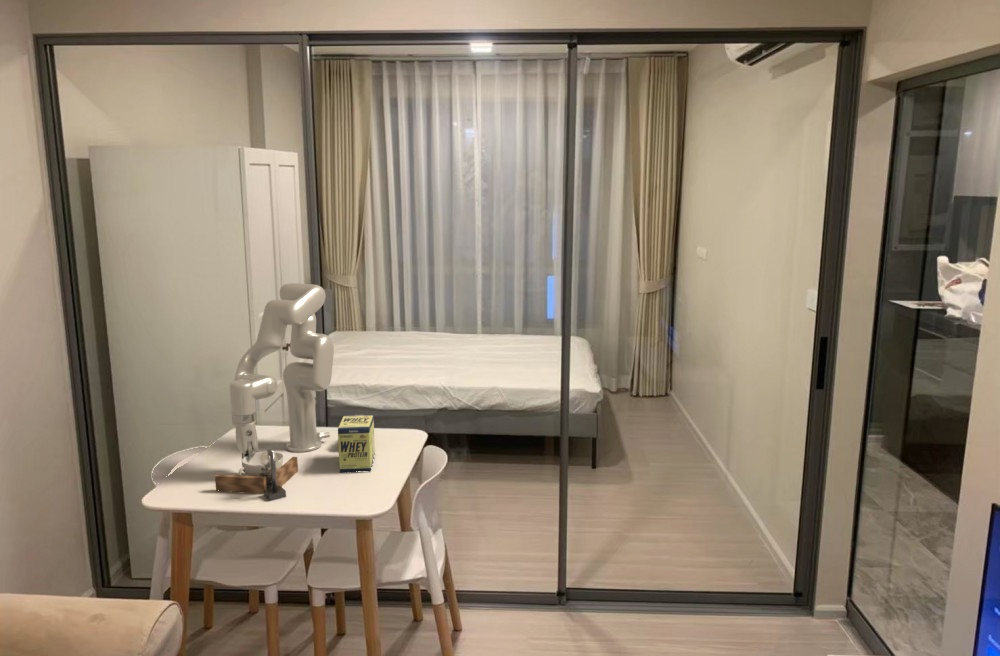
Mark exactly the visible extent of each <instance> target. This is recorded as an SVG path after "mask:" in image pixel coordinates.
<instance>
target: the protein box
mask: <svg viewBox="0 0 1000 656" xmlns="http://www.w3.org/2000/svg"><path fill="white" fill-rule="evenodd" d="M374 419H375V418H374V414H372V413H371V414H344V415H343V417H342V419H341V421H340V423H339V425H338V427H337V440H338V441H337V442H338V461H339V462H338V463H339V473H340V474H346V473H347V472H351V473H359V472H358V471H371V472H372V469H371V467H373V465H372V464H374V462H373V459H374V460H375V458H374V455H375V456H376V451H375V450H376V449H375V448H376V447H375V423H374V422H375V420H374ZM356 471H357V472H356ZM345 472H346V473H345Z"/></svg>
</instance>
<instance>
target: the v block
mask: <svg viewBox="0 0 1000 656" xmlns="http://www.w3.org/2000/svg"><path fill="white" fill-rule="evenodd" d="M298 471H299V463H298V456H292V457H291V458H289V459H288V460H287V461H286V462H285V463H284V464H282V466H281V468H279V469H278V470H277V471H276V481H277V486H281V487H282V488H283V486H284V485H285V484H286V483H287V482H288V481H289V480H291V479H292V477H294V476H295V475H296V474H297V473H298ZM271 479H272V478H271ZM214 482H215V492H220V491H232V492H231V493H238V492H243V493H244V494H256V495H257V494H259V495H260V494H261V495H264V489H268V488H267V484H266V477H262V476H247V475H242V474H241V475H239V474H222V473H221V474H218V473H217V474H216V475H214ZM218 490H219V491H218Z"/></svg>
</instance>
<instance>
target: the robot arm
mask: <svg viewBox="0 0 1000 656" xmlns="http://www.w3.org/2000/svg"><path fill="white" fill-rule="evenodd" d="M279 298H280V299H272V300H269V301H268V302H267V303H266V304H265V306H264V309H263V310H264V311H263V314H262V317H261V321H260V325H259V329H258V332H257V333H258V334H257V337H256V341H255V342H254V344H253V345H251V347H250V348H248V350H247V351H246V352H245V353H244V355H243V356H242V357H241V359H240V360H239V362H238V364H237V368H236V372H235V377H234V380H233V381H232V382H230V384H229V398H230V410H231V423H232V425H234V426H235V441H236V442H235V443H236V446H237V449H238V450H239V451H240V453H241V460H243V458H244V457H246V456H248V458H253V454H254V452H255V453H258V452H259V451H260V450H259V442H258V435H257V434H258V433H257V429H256V428H257V427H256V424H255V423H257V408H256V407H257V405H256V400H262V399H267V398H269V397H272V396H273V395H274V394H275V393H276V392H277V389H278V382H277V380H276V379H275V378H274V377H272V376H270V375H266V374H260V373H259V374H258V373H254V371H255V369H256V366H257V365H258V363H259V362H260V361H261V360H262V359H263V358H265V357H267V356H269V355H270V354H273V353H275V352H278V351H279V350H281V349H282V347H283V344H284V340H285V336H286V331H287V328H288V326H289V325H290V326H291V329H290V330H291V332H290V333H291V334H290V341H289V342H290V343H289V349H290V350H289V352H290V354H291V355H292V356H293V357H295V358H297V359H306V360H310V361H313V362H312V363H310V362H303V361H294V362H290V363H288V364H286V366H285V368H283V372H282V379H283V384H284V387H285V391H286V397H287V398H286V399H287V411H288V412H287V413H288V426H289V427H288V428H289V441H288V442H287V443H286V444H285V449H287V451H288V452H293V453H304V452H311V451H314V450H316V449H319V448H320V447H321V446H322V439H328V438H330V436H331V435H330V432H329V431H328V432H324V431H320V432H318V431H317V417H316V416H317V415H316V400H315V395H314V393H313V391H314V392H324V391H325V390H327V389H328V388H329V386H330V385H331V382H332V381H331V380H332V375H333V365H334V363H333V361H334V347H335V346H334V343H333V340H332V338H331V337H330V336H329V335H328V334H325V333H317V316H316V313H317V312H318V311H319V310H320V309H321V308H322V306H323V305H324V304H325V301H326V291H325V289H324V288H323V287H322V286H320V285H318V284H311V283H309V284H307V283H299V282H298V283H295V282H292V283H291V282H290V283H289V282H288V283H285V284H283V285H281V287H280V289H279ZM253 451H254V452H253ZM241 465H242V466H241V468H242V467H243V464H242V463H241ZM242 472H244V473H245V471H244V470H243V471H242Z"/></svg>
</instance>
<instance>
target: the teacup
mask: <svg viewBox="0 0 1000 656" xmlns="http://www.w3.org/2000/svg"><path fill="white" fill-rule="evenodd" d="M264 452H265V451H260V452H259V451H258V452H255V453H254V452H253V458H248V456H246V457H244V458H243V459H241V465H242V464H243V467H242V466H241V467H240V469H239V470H238V475H242V472H244V471H245V472H244V473H245V475H246V476H262V477H266V485H268V484H272V479H271V468H267V467H264V466H263V465H262V464H261V462H260V458H261V455H262V454H263V453H264ZM276 453H277V455H278V462H277V463H276V465H275V466H276V471H277V470H278V469H279V468H281V466H283V463H284V461H283V460H284V455H283V454H282V453H279V452H276ZM243 470H244V471H243Z"/></svg>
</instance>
